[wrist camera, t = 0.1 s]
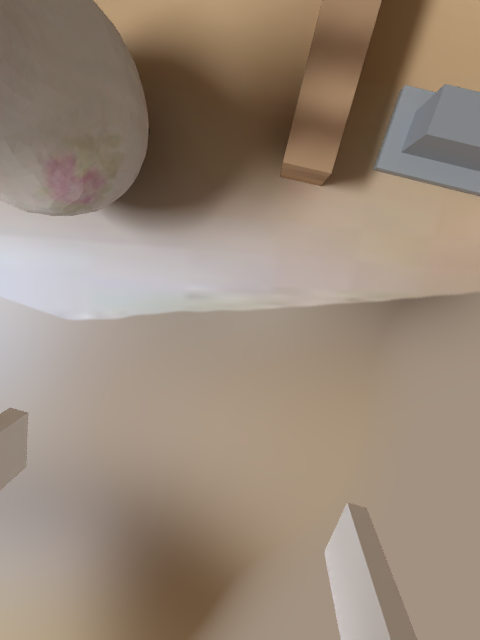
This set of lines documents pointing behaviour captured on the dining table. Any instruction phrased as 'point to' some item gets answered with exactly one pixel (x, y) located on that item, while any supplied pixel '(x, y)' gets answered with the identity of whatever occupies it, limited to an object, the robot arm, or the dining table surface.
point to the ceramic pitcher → (67, 108)
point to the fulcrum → (434, 138)
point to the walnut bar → (328, 88)
